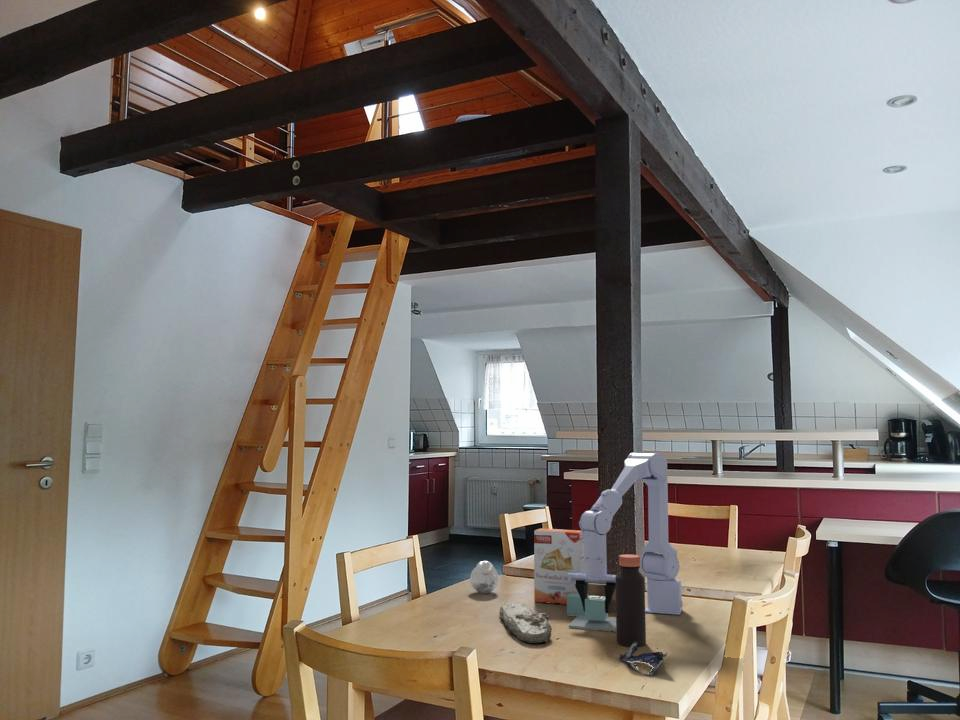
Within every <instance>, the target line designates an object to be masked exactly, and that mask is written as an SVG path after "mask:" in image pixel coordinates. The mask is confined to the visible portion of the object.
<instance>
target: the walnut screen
mask: <svg viewBox="0 0 960 720" xmlns="http://www.w3.org/2000/svg"><path fill="white" fill-rule="evenodd" d="M605 585H606V583H592V582H588V589H587V594H589V596H604V597H605V589H604V586H605ZM609 612H614V613H616V588H615V591H614V593H613V596H612V599H611V603H610V609H609Z"/></svg>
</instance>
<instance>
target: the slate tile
mask: <svg viewBox="0 0 960 720" xmlns="http://www.w3.org/2000/svg"><path fill="white" fill-rule="evenodd" d="M568 628H569V629H576V628H577V630H578V629H579V630H588V631H599V630H602V631H603V632H611V631H613V632H612V633H616V617H611V616H610V617H609V616H608V617H607V619H606V620H605V621H599V620H587V619H585V615H578V616H576V617H575V618H574V619H573V620H572V621H571V622H570V624H568ZM602 631H601V632H602Z"/></svg>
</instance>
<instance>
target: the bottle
mask: <svg viewBox="0 0 960 720" xmlns="http://www.w3.org/2000/svg"><path fill="white" fill-rule="evenodd" d="M640 560H641V556H640V555H637V554H631V553H630V554H629V553H628V554H620V555H618V565H619V568H620V571H619V572H618V573H617V574H616V575H617V576H616V578H615V581H616V612H615V618H616V632H615V633H616V643H618V645H621V646H625V647H629V648H630V647H631V645H632V644H633V643H634V641H636V642H638V645H636V647H637V648H638V647H642V646H644V645H646V643H647V642H646V641H647V634H646V629H647V628H646V612H645V609H646V594H645V593H646V588H645V586H646V585H645V584H646V583H645V576H644V575H642V574H641V572H640V569H641V567H640ZM640 642H641V643H640Z"/></svg>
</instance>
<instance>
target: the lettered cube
mask: <svg viewBox="0 0 960 720" xmlns="http://www.w3.org/2000/svg"><path fill="white" fill-rule="evenodd" d="M607 617H609V613H605V597H604V596H588V597H587V598H586V599H585V619H587V620H599V621H605V620H606V619H607Z"/></svg>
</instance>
